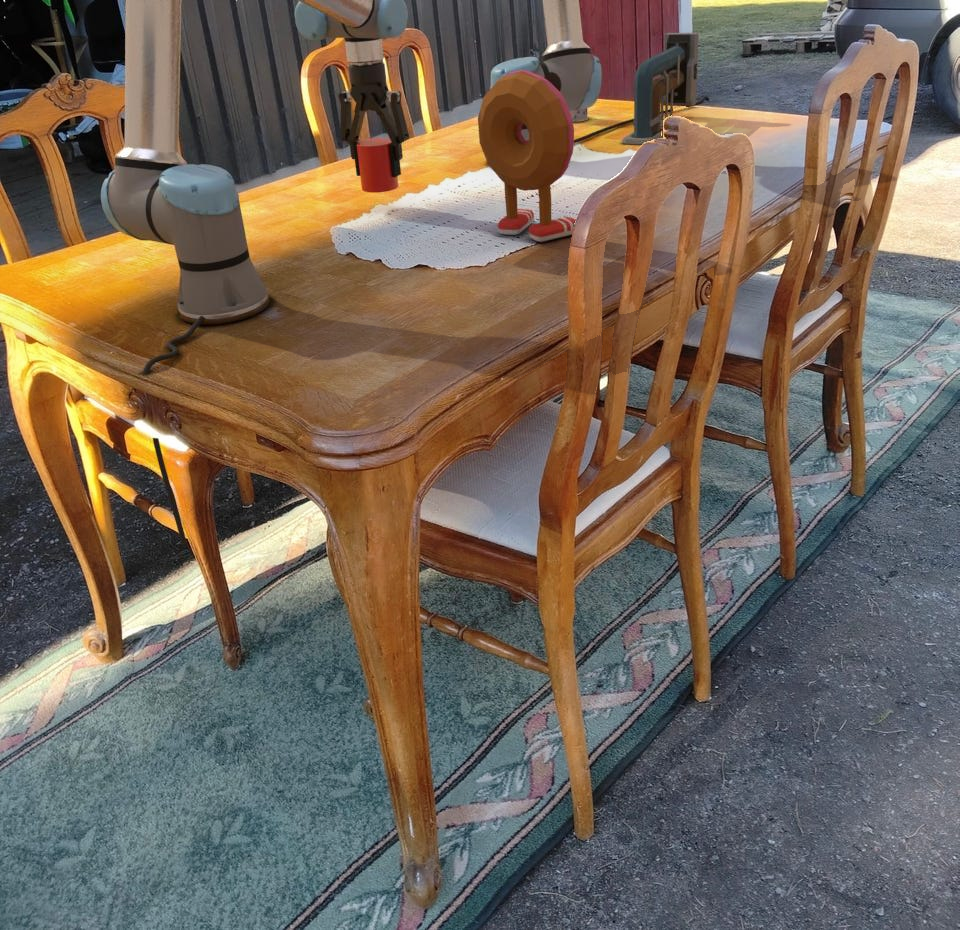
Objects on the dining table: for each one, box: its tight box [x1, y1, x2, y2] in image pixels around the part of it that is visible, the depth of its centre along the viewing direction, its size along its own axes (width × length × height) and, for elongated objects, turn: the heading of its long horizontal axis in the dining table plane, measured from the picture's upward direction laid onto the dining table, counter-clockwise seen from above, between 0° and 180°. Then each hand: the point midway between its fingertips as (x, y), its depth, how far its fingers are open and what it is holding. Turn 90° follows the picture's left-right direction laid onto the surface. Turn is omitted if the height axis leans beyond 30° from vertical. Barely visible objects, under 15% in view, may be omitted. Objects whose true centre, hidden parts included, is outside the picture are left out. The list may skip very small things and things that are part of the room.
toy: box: [477, 70, 577, 243], centre depth 182 cm, size 21×10×30 cm, turn 47°
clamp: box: [621, 32, 699, 145], centre depth 254 cm, size 35×9×21 cm, turn 151°
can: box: [356, 137, 399, 194], centre depth 208 cm, size 8×8×10 cm
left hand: (378, 174), depth 209 cm, fingers closed on can, 8 cm apart
